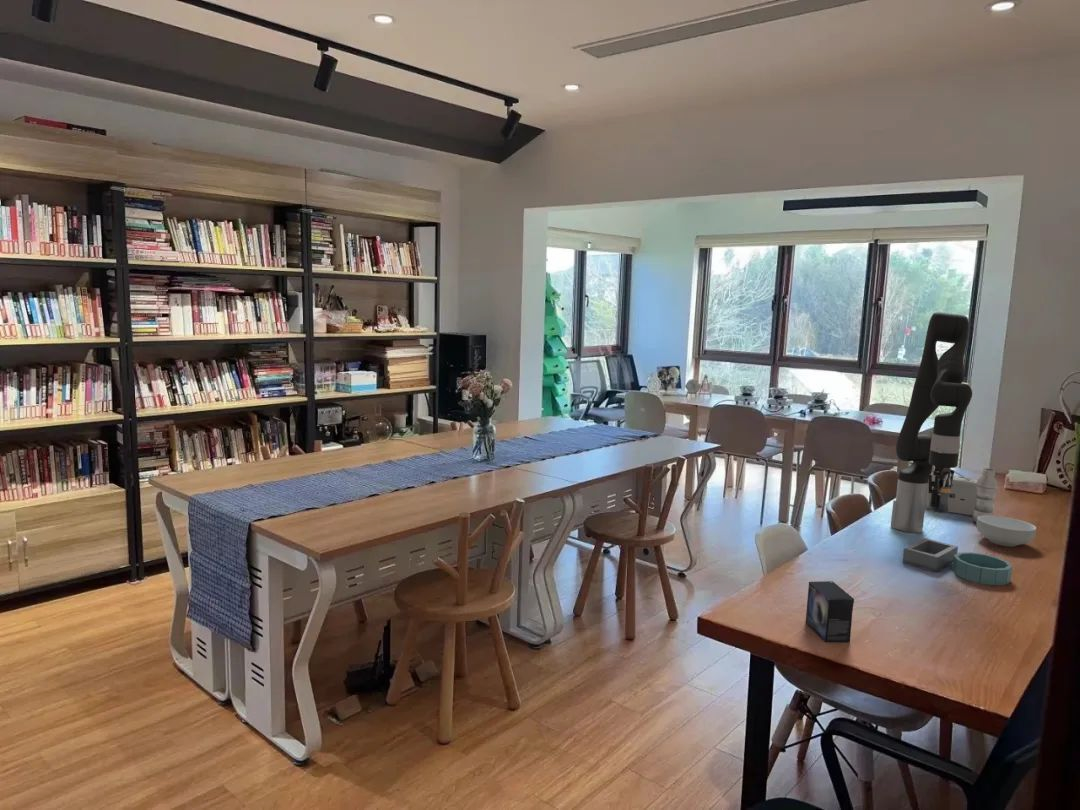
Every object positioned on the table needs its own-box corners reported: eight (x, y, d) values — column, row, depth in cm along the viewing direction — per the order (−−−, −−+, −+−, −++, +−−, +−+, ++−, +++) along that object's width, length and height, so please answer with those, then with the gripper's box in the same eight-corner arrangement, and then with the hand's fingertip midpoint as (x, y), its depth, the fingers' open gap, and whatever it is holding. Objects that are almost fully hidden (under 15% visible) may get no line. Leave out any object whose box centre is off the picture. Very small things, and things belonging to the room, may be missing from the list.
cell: (925, 509, 220) (928, 483, 219) (932, 506, 224) (935, 481, 223) (944, 513, 217) (947, 487, 216) (950, 510, 220) (953, 484, 219)
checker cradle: (902, 562, 221) (903, 548, 220) (923, 551, 232) (925, 538, 231) (936, 572, 214) (937, 557, 213) (956, 560, 225) (958, 546, 224)
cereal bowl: (1043, 553, 234) (1046, 532, 233) (985, 548, 238) (988, 527, 237) (1020, 537, 251) (1023, 517, 250) (966, 532, 254) (969, 512, 253)
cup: (945, 573, 213) (947, 558, 212) (963, 563, 222) (964, 549, 222) (1000, 589, 203) (1002, 573, 202) (1016, 577, 212) (1018, 562, 211)
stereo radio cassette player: (984, 514, 278) (991, 462, 276) (983, 519, 272) (990, 466, 269) (922, 504, 289) (928, 454, 287) (920, 508, 283) (926, 457, 280)
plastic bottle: (996, 527, 261) (1003, 472, 258) (975, 525, 262) (982, 470, 260) (989, 522, 267) (996, 468, 265) (968, 520, 269) (975, 466, 266)
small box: (803, 622, 177) (807, 580, 175) (829, 622, 177) (833, 580, 176) (823, 642, 166) (827, 598, 165) (851, 642, 167) (855, 598, 165)
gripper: (939, 445, 225) (933, 499, 228) (921, 450, 216) (915, 506, 218) (966, 449, 220) (960, 504, 222) (949, 454, 210) (942, 512, 212)
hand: (938, 505), depth 220 cm, fingers closed on cell, 5 cm apart
